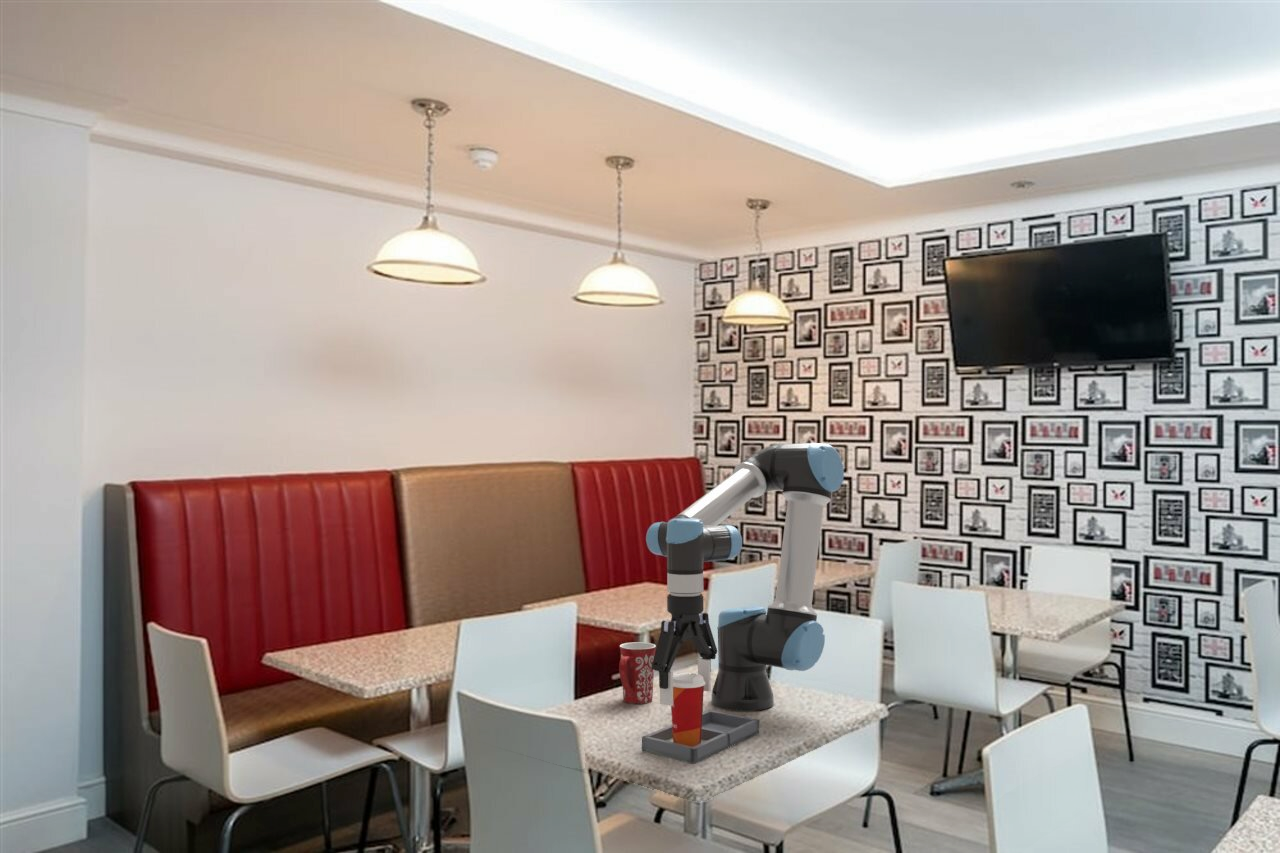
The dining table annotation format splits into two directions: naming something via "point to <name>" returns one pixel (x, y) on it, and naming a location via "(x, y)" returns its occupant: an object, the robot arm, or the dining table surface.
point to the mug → (637, 671)
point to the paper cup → (687, 708)
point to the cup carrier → (703, 737)
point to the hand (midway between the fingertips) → (686, 697)
